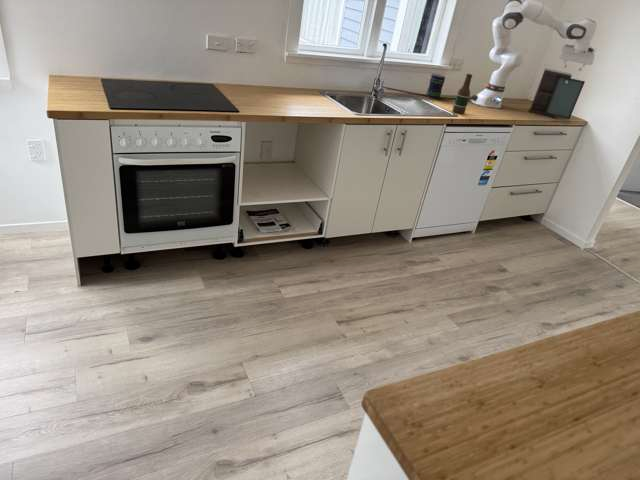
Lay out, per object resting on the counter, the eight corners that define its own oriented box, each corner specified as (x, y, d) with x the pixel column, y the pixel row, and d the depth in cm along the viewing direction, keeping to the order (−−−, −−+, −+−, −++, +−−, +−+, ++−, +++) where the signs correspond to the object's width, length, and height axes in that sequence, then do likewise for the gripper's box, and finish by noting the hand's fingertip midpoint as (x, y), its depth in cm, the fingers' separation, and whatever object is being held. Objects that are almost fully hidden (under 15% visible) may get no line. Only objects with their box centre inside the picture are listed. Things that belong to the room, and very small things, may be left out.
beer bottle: (457, 114, 306) (468, 75, 294) (449, 110, 312) (460, 72, 300) (466, 114, 309) (478, 76, 298) (459, 111, 315) (470, 73, 304)
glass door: (569, 121, 338) (585, 82, 325) (544, 115, 343) (559, 77, 330) (569, 119, 346) (584, 81, 333) (544, 113, 351) (559, 75, 338)
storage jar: (436, 99, 337) (442, 77, 330) (423, 96, 341) (429, 74, 334) (441, 98, 345) (447, 76, 337) (428, 94, 349) (434, 73, 341)
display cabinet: (554, 118, 348) (571, 75, 334) (529, 111, 353) (544, 69, 339) (554, 115, 360) (571, 73, 345) (530, 109, 365) (545, 67, 350)
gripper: (564, 44, 312) (555, 66, 319) (597, 50, 306) (588, 73, 313) (564, 43, 317) (555, 65, 324) (597, 50, 311) (588, 72, 318)
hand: (572, 69), depth 318 cm, fingers open, 8 cm apart
